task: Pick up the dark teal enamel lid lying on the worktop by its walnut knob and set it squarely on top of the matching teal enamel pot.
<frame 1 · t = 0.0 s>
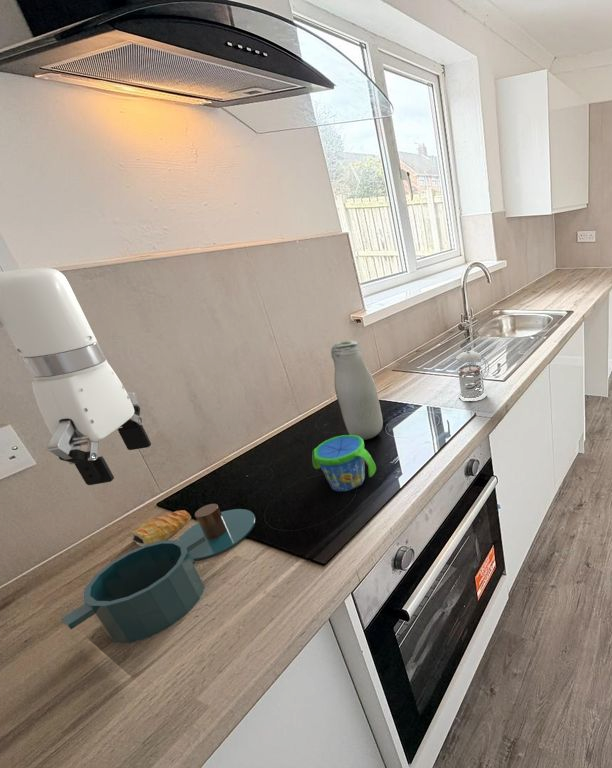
hand: (122, 463, 64), 24 cm above the worktop, tool pointing down, fingers open, 9 cm apart
snack cup: (349, 484, 96), on the worktop
french press: (475, 395, 137), on the worktop
glass bottle: (367, 437, 116), on the worktop
pot: (159, 607, 68), on the worktop
pastry: (162, 535, 84), on the worktop
lid: (217, 533, 83), point 1 cm above the worktop
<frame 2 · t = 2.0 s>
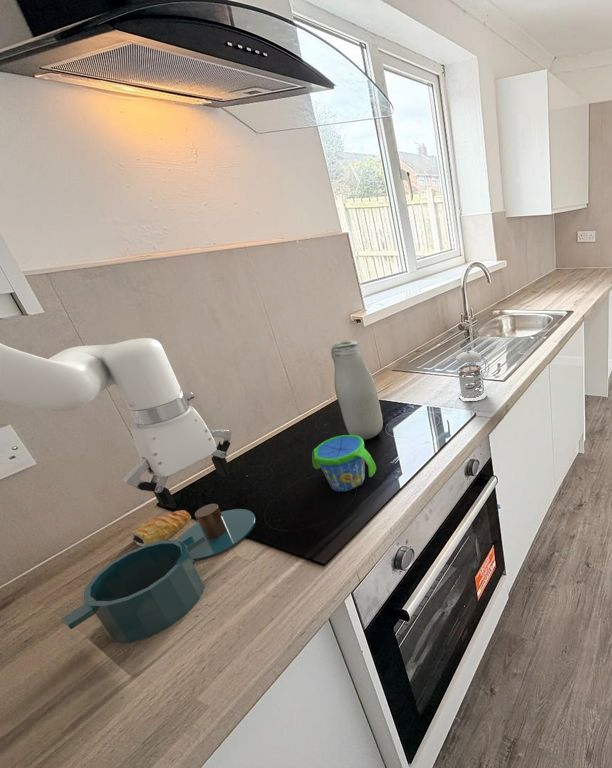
hand: (198, 489, 78), 11 cm above the worktop, tool pointing down, fingers open, 9 cm apart
nothing on the worktop moved.
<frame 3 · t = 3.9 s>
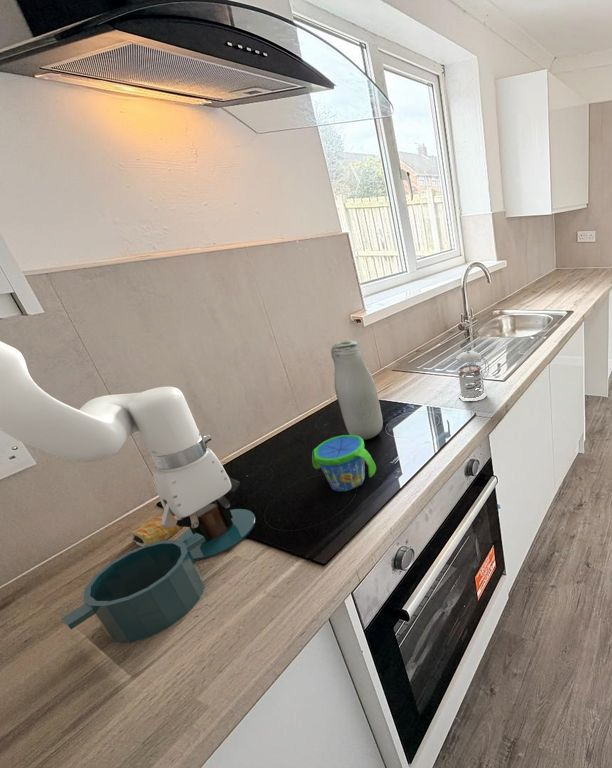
hand: (215, 530, 82), 1 cm above the worktop, tool pointing down, fingers closed on lid, 3 cm apart
lid: (217, 533, 83), point 1 cm above the worktop, touching gripper
everything else where it was.
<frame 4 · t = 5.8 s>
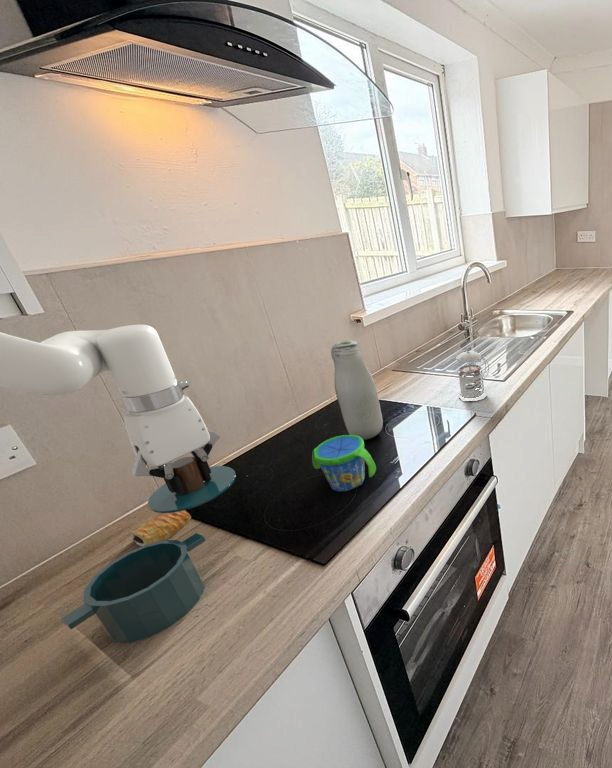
hand: (192, 484, 78), 13 cm above the worktop, tool pointing down, fingers closed on lid, 3 cm apart
lid: (194, 488, 78), point 12 cm above the worktop, touching gripper
everything else where it was.
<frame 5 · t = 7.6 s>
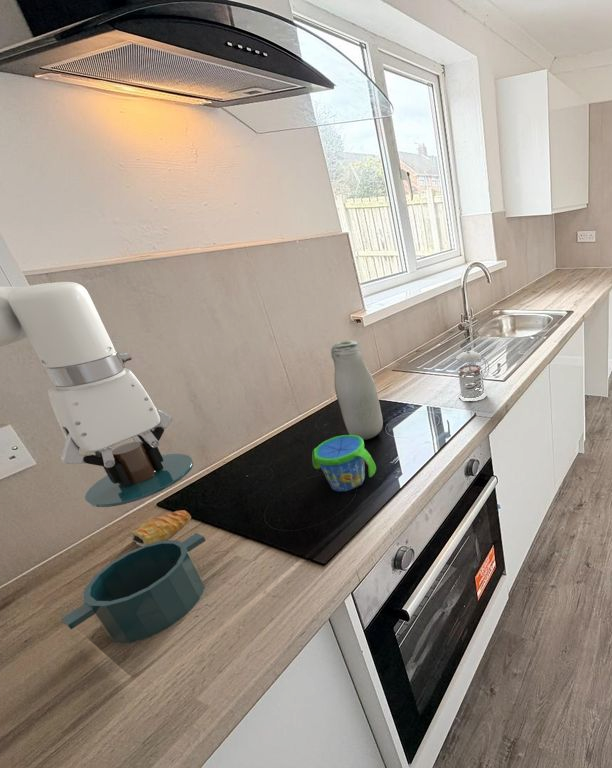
hand: (140, 474, 67), 21 cm above the worktop, tool pointing down, fingers closed on lid, 3 cm apart
lid: (143, 479, 67), point 20 cm above the worktop, touching gripper
everything else where it was.
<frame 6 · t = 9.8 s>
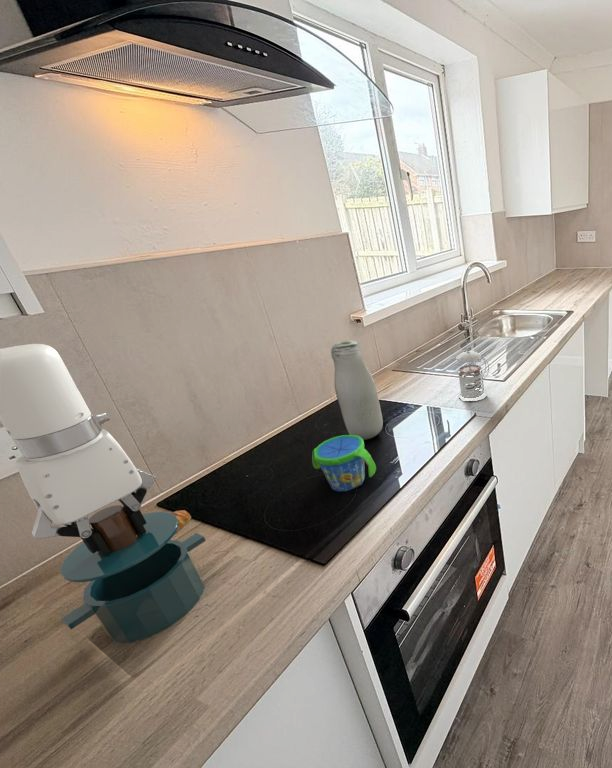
hand: (121, 540, 62), 15 cm above the worktop, tool pointing down, fingers closed on lid, 3 cm apart
lid: (124, 544, 63), point 14 cm above the worktop, touching gripper
everything else where it was.
when the fingers open (9 cm above the worktop, at t = 11.4 s): lid stays where it is, resting on pot.
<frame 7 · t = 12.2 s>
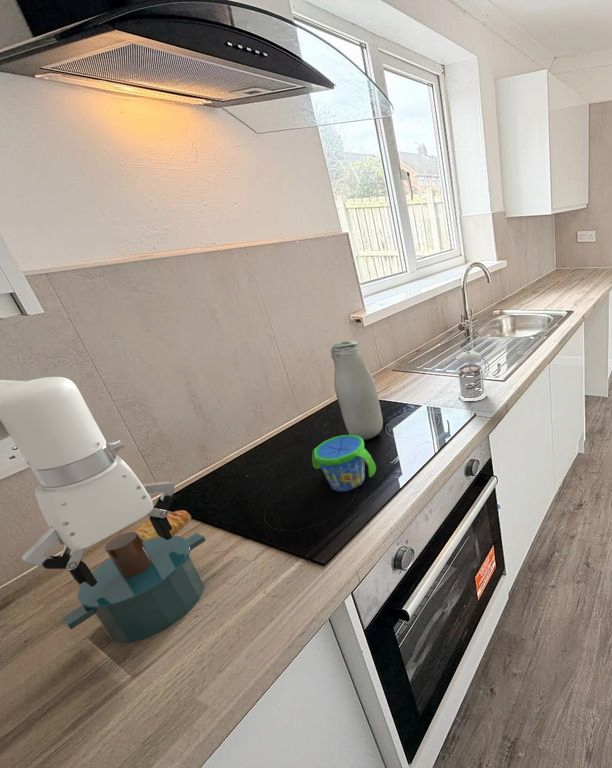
hand: (130, 558, 64), 11 cm above the worktop, tool pointing down, fingers open, 9 cm apart
lid: (138, 569, 65), point 8 cm above the worktop, touching pot
everything else where it was.
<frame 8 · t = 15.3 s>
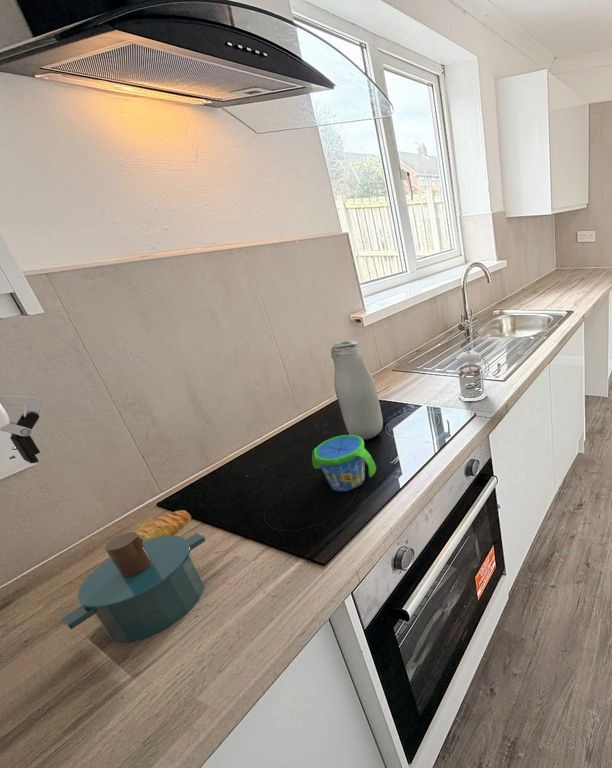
nothing on the worktop moved.
at the end: lid 0.1 cm off-centre on the pot, point 8.5 cm above the pot's base; lid tilted 0°; the gripper is holding nothing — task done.
